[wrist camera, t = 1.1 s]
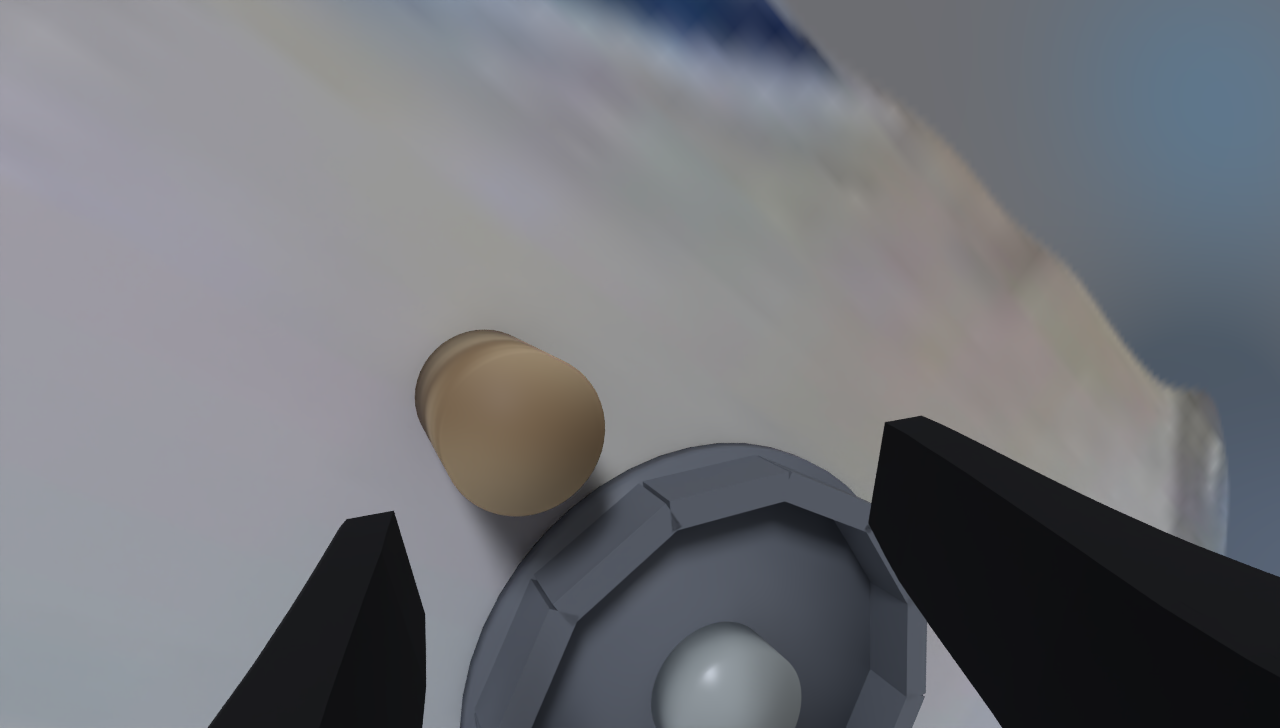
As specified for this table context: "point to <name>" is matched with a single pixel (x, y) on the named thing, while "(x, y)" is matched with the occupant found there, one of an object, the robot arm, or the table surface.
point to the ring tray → (704, 607)
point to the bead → (509, 422)
